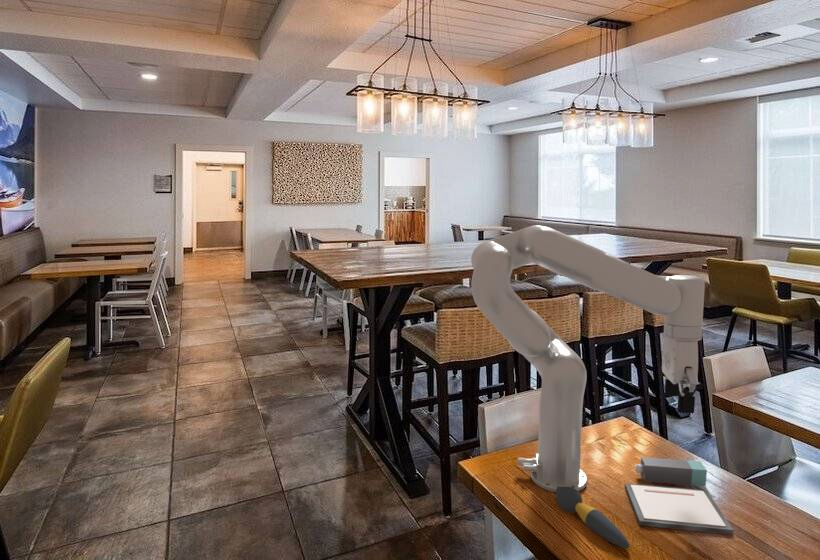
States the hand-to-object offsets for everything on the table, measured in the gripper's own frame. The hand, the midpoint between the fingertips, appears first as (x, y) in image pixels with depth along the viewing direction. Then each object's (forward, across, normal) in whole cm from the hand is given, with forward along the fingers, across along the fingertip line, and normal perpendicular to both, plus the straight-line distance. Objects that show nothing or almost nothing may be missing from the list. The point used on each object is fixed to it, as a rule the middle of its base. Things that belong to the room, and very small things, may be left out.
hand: (678, 403), depth 117 cm
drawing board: (+18, +13, -4) cm, 23 cm away
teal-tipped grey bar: (+19, 0, -1) cm, 19 cm away
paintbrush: (+19, +20, -22) cm, 35 cm away
